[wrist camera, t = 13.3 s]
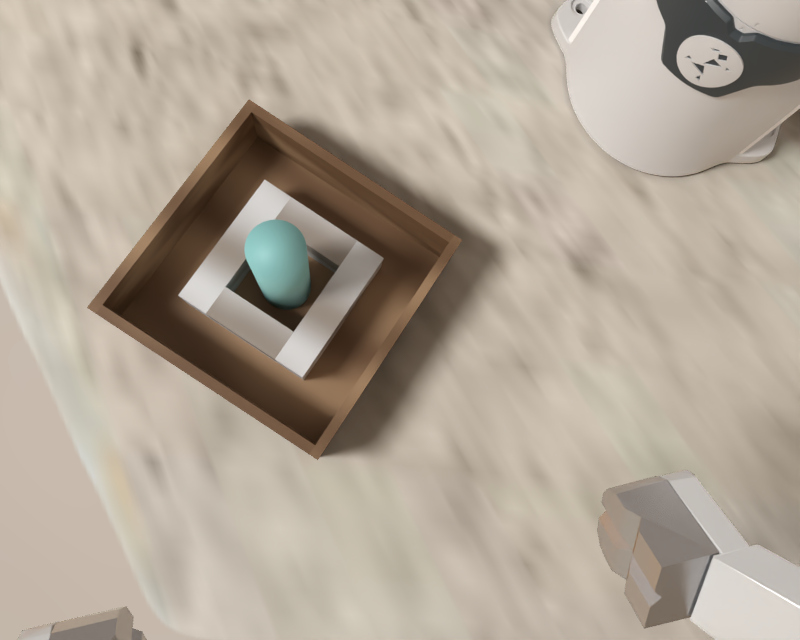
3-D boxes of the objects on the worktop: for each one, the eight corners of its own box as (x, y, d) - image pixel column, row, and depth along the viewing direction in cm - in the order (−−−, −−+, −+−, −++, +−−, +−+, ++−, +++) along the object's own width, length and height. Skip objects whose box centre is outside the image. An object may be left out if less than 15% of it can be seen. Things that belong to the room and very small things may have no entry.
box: (256, 128, 45) (248, 99, 41) (450, 256, 45) (462, 240, 41) (109, 318, 42) (87, 307, 38) (319, 457, 42) (317, 459, 38)
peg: (280, 252, 43) (267, 208, 34) (320, 279, 43) (318, 241, 34) (252, 292, 43) (231, 256, 34) (293, 319, 43) (283, 290, 34)
